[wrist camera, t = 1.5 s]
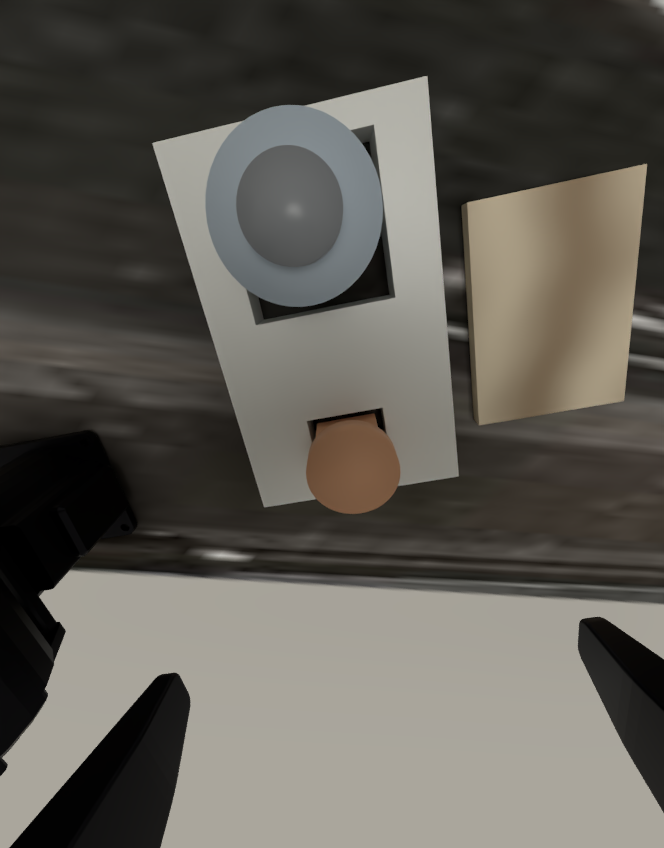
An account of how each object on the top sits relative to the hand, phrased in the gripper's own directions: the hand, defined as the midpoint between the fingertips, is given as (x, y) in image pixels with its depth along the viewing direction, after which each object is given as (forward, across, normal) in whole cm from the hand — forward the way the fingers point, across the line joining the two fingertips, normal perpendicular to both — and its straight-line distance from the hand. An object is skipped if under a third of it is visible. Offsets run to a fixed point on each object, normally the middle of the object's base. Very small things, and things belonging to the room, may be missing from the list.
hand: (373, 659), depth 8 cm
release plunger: (+11, 0, 0) cm, 11 cm away
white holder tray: (+13, 0, -5) cm, 14 cm away
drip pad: (+13, -10, -4) cm, 17 cm away
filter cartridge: (+13, 0, -9) cm, 16 cm away
